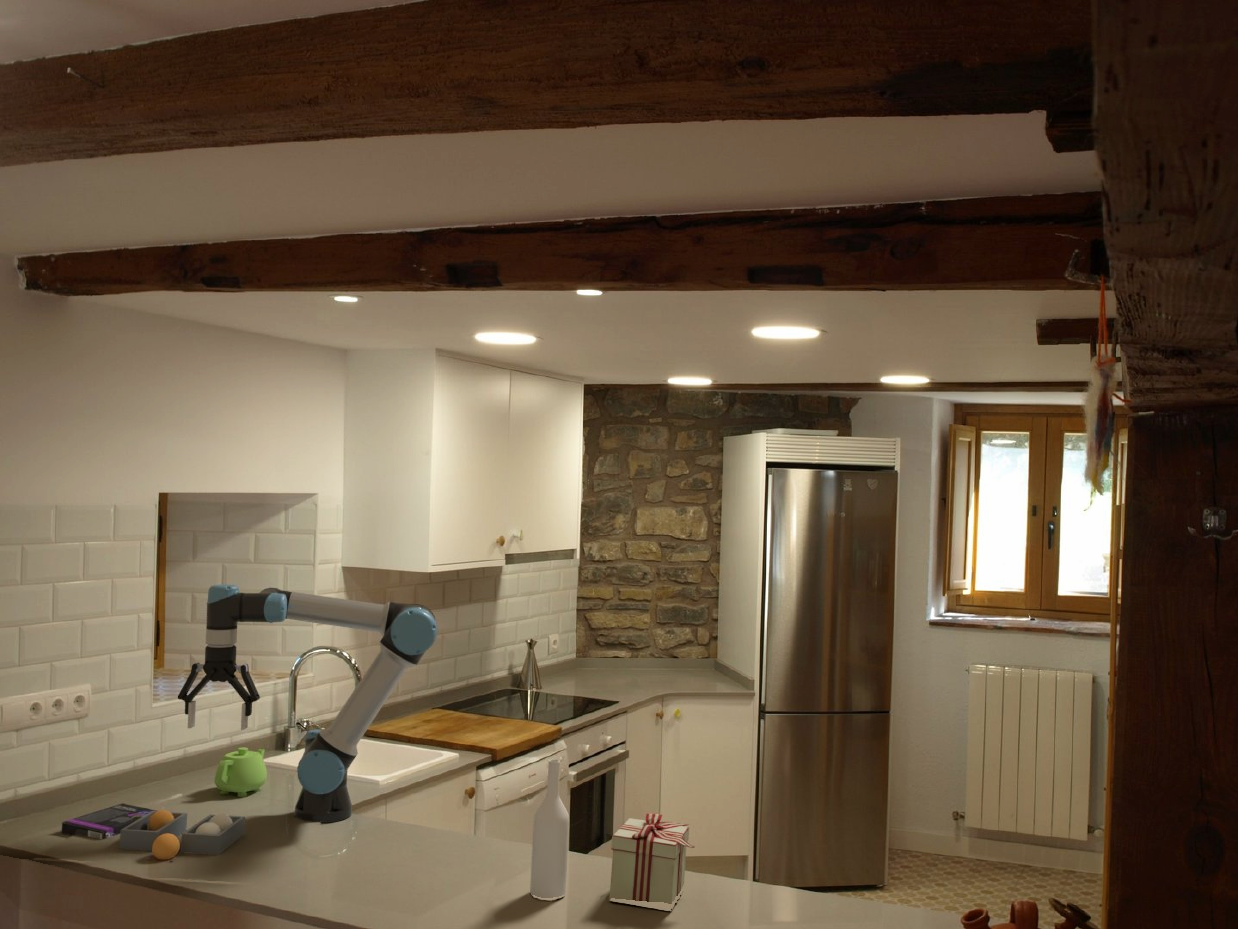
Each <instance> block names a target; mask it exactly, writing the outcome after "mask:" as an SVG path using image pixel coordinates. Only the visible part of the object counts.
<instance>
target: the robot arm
mask: <svg viewBox="0 0 1238 929" xmlns="http://www.w3.org/2000/svg"><path fill="white" fill-rule="evenodd" d="M285 620H293V621H299V622H307V623H313V624H319V625H328V626H334V627H335V626H336V627H341V628H348V629H356V630H363V631H369V632H370V631H371V632H377V633H380V635H381V636H382V637H381V639H380V640H379V646H380V651H379V653H377V655H376V657H375V659H373V661H372V663H371V664H370V666H369V667H368V669H367V671H365V674H364V675H363V677H362V678H361V679H360V680H359V683H358V684H357V685H356V687H355V688H354V690H353V691H352V693H351V694H350V696H349V697H348V699H347V700H346V701H345V704H344V705H343V706H342V707H341V709H340V711H339V712H338V713H337V715H336V716H335V718H334V719H333V721H332V723H331V724H330V725H329V727H327V728H324V729H312V730H308V731H307V732H306V734H305V739H304V751H303V754H302V756H301V758H300V759H299V762H298V765H297V770H296V771H297V779H298V781H299V783H300V785H301V786H302V788H301V791H300V793H299V796H298V797H297V798H298V799H297V801H296V803H295V807H294V813H293V814H294V817H295V818H296V819H300V820H302V821H303V820H304V821H307V822H308V821H309V822H320V823H321V824H323V823H324V824H325V823H334V822H338V821H343V820H346V819H348V818H349V817H351V816H352V814H353V813H352V812H353V805H352V801H351V798H350V797H351V796H350V795H349V791H348V790H349V789H348V769H349V768H350V767H351V765H352V764H353V762H354V760H355V759H356V757H357V755H358V754H359V752H358V748H357V746H358V744H359V742H360V741H361V740H362V738H363V736H364V735H365V733H366V732H367V730H368V729H369V727H370V725H371V724H372V723H373V721H374V720H375V718H376V717H377V715H378V714H379V712H380V710H381V709H382V707H383V706H384V705H385V703H386V702H387V700H388V698H389V697H390V695H391V694H392V693H393V691H394V690H395V688H396V686H397V685H398V683H399V682H400V681H401V679H402V677H403V676H404V674H405V673H406V672H407V669H409V668H412V667H416V666H418V664H419V662H420V661H421V659H422V658H423V657H424V654H425V653H426V652H427V651H428V650H429V649H431V647H433V645H434V644H435V641H436V638H437V636H438V625H437V620H436V617H435V615H434V613H433V611H432V610H431V609H429V608H428V607H427V606H425V605H423V604H421V603H403V602H392V601H388V602H387V603H385V604H381V603H374V602H368V601H367V602H366V601H359V600H353V599H345V598H338V597H332V596H324V595H318V594H311V593H304V592H296V591H288V590H284V589H283V590H282V589H279V587H278V588H277V587H268V588H267V587H266V588H264V589H263V590H261V591H259V592H252V593H251V592H247V593H246V592H240V587H239V586H238V585H237V584H236V585H235V584H214V585H211V586H210V587H209V588H208V593H207V602H206V625H205V626H206V629H205V644H206V647H205V649H204V663H200V662H199V661H198V662H195V663H193V664H191V670H190V673H189V675H188V677H187V678H186V680H185V683H184V684H183V686H182V688H181V689H180V691H179V693H178V695H177V699H178V700H180V701H183V702H184V714H185V715H187V729H192V728H194V727H195V726H196V708H197V707H196V706H197V705H196V704H197V701H196V700H194V698H196V696H197V695H198V694H199V693H200V692H201V691H202V690H203V689H204V688H205V687H206V685H207V684H208V683H209V682H210V681H211V682H213V683H215V682H216V683H217V682H221V683H225V682H227V683H228V684H229V685H230V686H231V687H232V688H233V689H234V691H236V693H237V694H238V695H239V697H240V698H241V699H242V701H243V703H242V704H241V715H240V716H241V719H240V730H241V731H244V730H246V729H247V728H248V727H249V726H248V725H249V724H248V723H249V722H248V721H249V716H251V715H252V713H253V703H255V702H257V701H258V700H260V698H261V697H260V694H259V692H258V689H257V688H256V686H255V683H254V680H253V679H252V676H251V674H250V670H249V664H248V663H244V664H239V665H238V664H237V645H235V644H236V643H237V642H238V637H237V636H238V624H239V623H244V622H245V623H269V624H273V623H282V622H284V621H285ZM202 670H203V672H204V673H205V675H204V676H203V677H202V679H201V680H200V681H199V682H198V683H197V685H196V686H195V687H193V689H192V690H191V692H189V691H190V689H191V687H192V686H193V684H194V682H195V681H196V678H198V675H199V673H200V672H202ZM237 671H238V673H239V674H240V675H241V678H242V680H243V682H244V685H245V687H246V688H245V687H244V686H243V684H242V683H241V682H240V680H239V678H238V676H236V674H235V673H236V672H237ZM188 693H189V694H188Z"/></svg>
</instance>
